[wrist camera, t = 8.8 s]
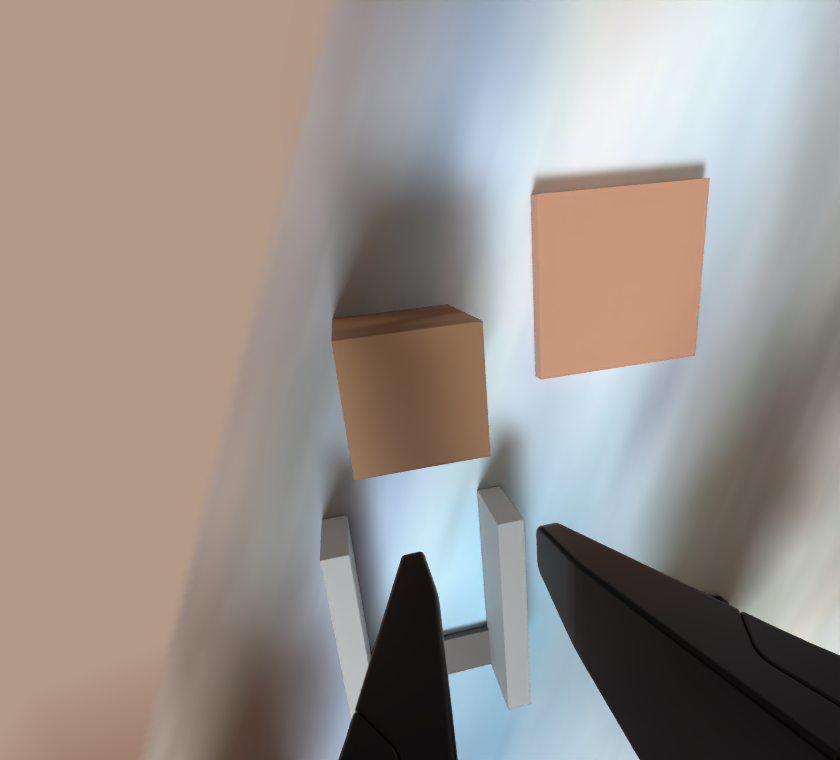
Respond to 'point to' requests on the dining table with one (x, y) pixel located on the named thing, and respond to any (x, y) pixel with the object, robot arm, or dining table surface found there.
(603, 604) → the robot arm
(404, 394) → the walnut block
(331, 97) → the dining table surface
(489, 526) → the channel
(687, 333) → the coaster
